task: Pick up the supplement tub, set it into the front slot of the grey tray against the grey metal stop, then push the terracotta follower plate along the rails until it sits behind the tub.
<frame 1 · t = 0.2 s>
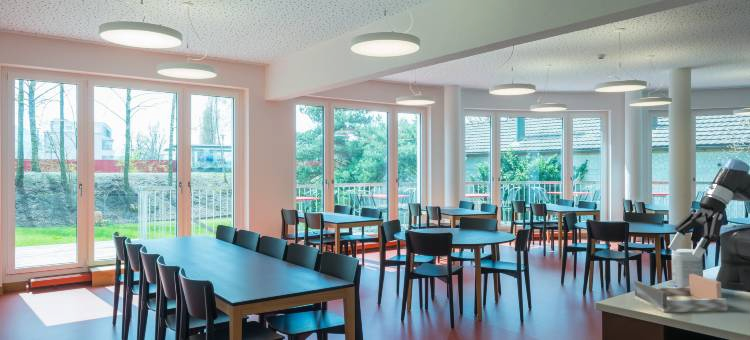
hand: (683, 252, 178), 15 cm above the counter, tool tilted 35°, fingers open, 13 cm apart
follower plate: (704, 288, 170), point 5 cm above the counter, slide at 0.0 cm
supplement tub: (687, 291, 187), on the counter
grey tray: (678, 304, 170), on the counter
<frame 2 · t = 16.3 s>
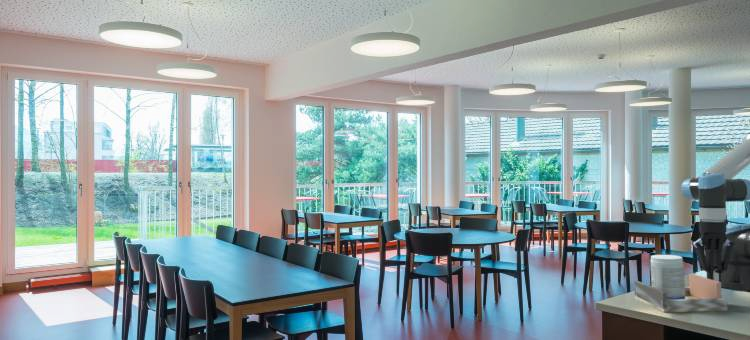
hand: (714, 292, 170), 4 cm above the counter, tool pointing down, fingers closed
follower plate: (704, 288, 170), point 5 cm above the counter, slide at 0.0 cm, touching gripper
supplement tub: (668, 301, 170), point 1 cm above the counter, touching grey tray
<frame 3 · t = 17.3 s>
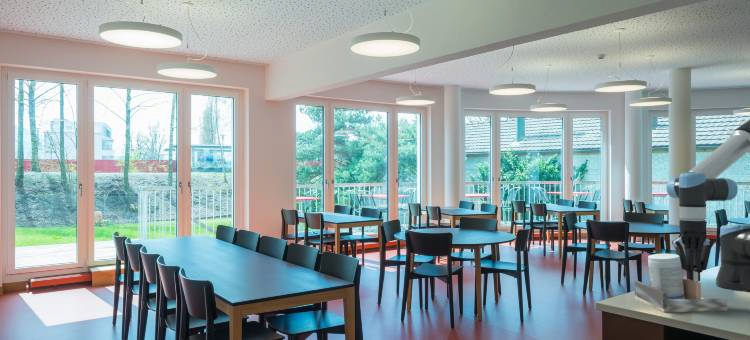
hand: (693, 291, 169), 4 cm above the counter, tool pointing down, fingers closed
follower plate: (685, 289, 170), point 5 cm above the counter, slide at 6.5 cm, touching gripper, supplement tub
supplement tub: (668, 300, 170), point 1 cm above the counter, touching follower plate, hand, grey tray
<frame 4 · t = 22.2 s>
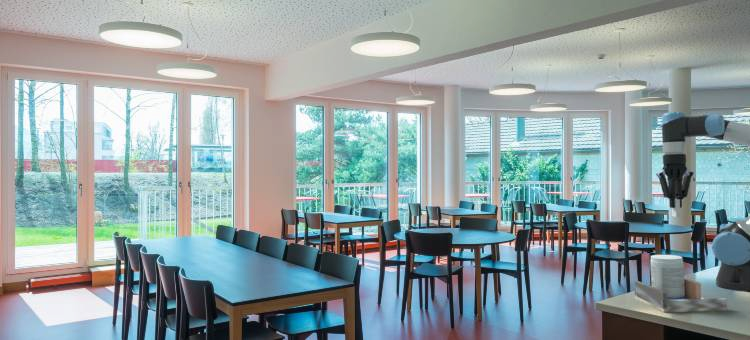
hand: (676, 216, 193), 26 cm above the counter, tool pointing down, fingers closed
follower plate: (685, 289, 170), point 5 cm above the counter, slide at 6.5 cm
supplement tub: (668, 301, 170), point 1 cm above the counter, touching grey tray
at the end: supplement tub 0.3 cm from the target spot on the grey tray, point 0.8 cm above the grey tray's base; supplement tub tilted 0°; follower plate slide at 6.5 cm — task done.
